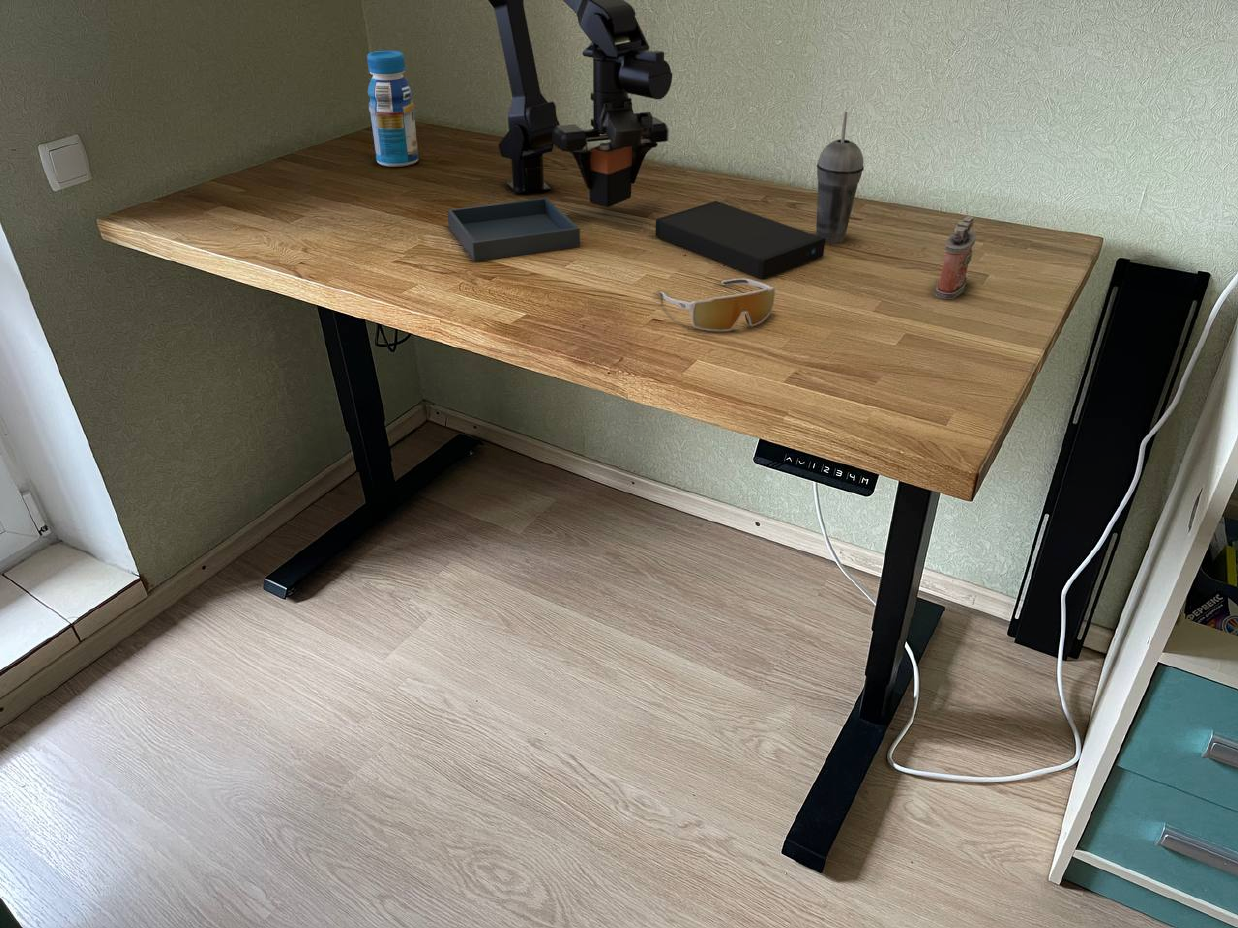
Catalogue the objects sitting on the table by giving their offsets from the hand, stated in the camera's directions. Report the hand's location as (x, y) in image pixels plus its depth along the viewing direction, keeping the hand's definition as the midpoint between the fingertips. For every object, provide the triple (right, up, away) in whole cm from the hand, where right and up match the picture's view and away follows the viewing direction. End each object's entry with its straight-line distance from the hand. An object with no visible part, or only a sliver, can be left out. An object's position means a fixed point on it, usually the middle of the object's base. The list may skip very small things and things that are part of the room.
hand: (610, 185), depth 162 cm
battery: (0, -2, +1) cm, 3 cm away
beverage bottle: (-42, +12, +27) cm, 52 cm away
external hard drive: (+20, -13, -10) cm, 26 cm away
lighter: (+50, -22, -23) cm, 59 cm away
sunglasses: (+15, -26, -30) cm, 42 cm away
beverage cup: (+36, -11, -6) cm, 38 cm away
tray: (-16, -10, -7) cm, 20 cm away
